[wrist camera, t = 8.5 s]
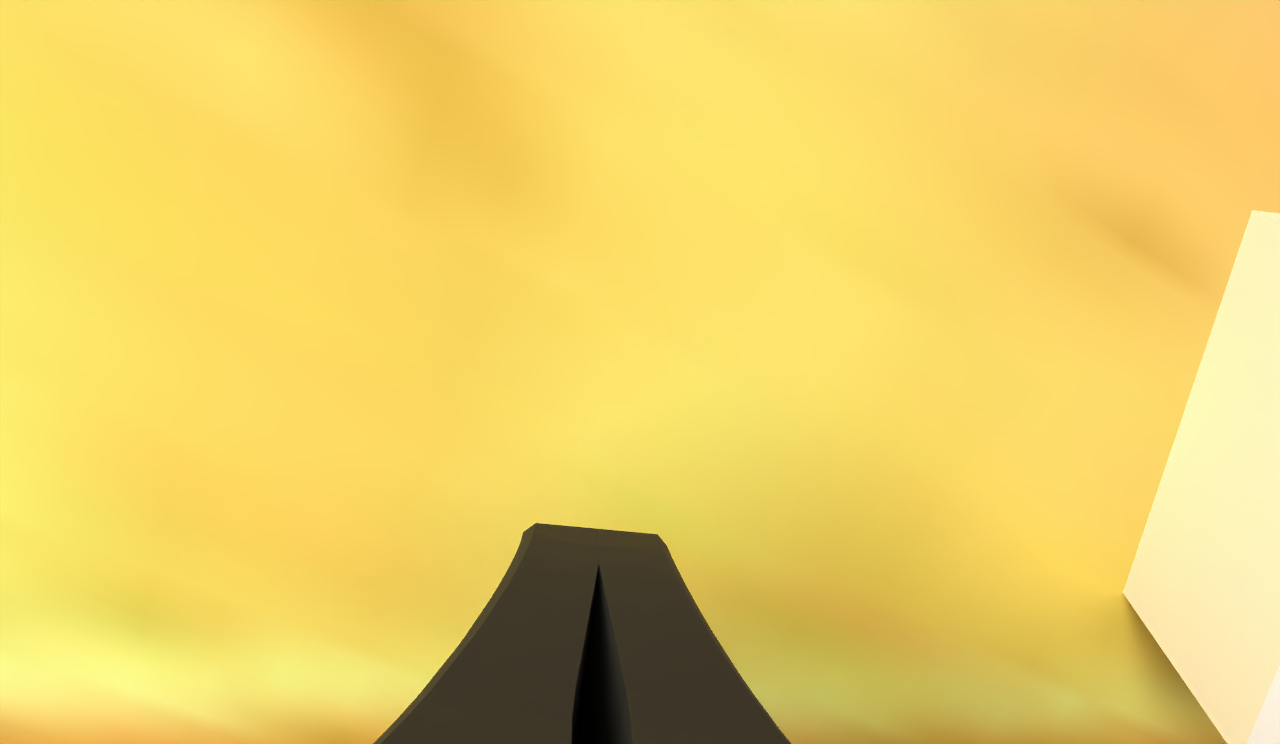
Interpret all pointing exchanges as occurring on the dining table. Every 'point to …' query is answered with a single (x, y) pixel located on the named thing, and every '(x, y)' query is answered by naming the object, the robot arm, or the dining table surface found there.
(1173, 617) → the cream carton
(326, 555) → the dining table surface
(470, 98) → the dining table surface
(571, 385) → the dining table surface
